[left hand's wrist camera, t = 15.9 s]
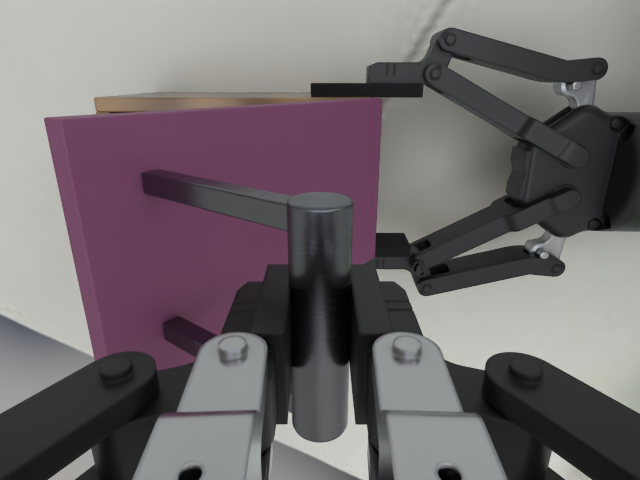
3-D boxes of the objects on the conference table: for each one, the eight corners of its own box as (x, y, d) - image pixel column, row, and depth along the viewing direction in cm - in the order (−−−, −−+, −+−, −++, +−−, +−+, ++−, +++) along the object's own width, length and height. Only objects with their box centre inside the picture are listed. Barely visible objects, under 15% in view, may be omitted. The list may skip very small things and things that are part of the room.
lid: (102, 398, 15) (284, 547, 10) (43, 117, 12) (268, 144, 7) (361, 254, 28) (498, 291, 23) (367, 97, 24) (528, 102, 20)
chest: (168, 210, 37) (119, 251, 28) (153, 92, 33) (93, 97, 25) (357, 211, 36) (367, 252, 28) (361, 92, 33) (373, 97, 25)
